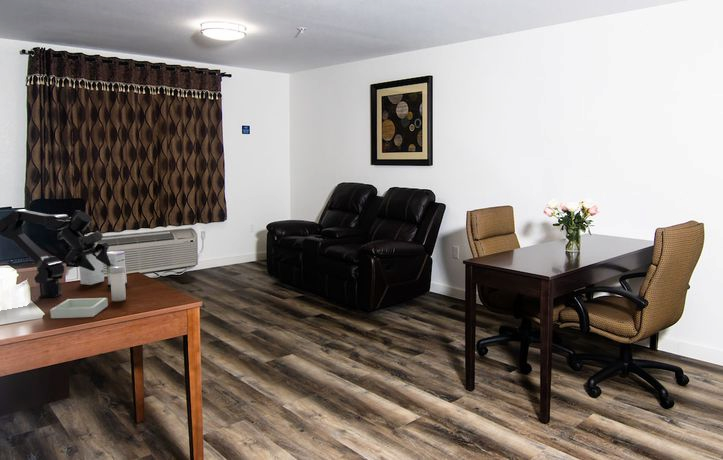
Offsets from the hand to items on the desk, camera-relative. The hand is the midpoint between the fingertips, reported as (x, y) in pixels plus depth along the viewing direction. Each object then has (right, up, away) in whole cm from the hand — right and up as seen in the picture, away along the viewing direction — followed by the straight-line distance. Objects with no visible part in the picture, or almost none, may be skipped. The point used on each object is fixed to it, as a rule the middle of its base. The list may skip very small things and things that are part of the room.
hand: (102, 267), depth 205 cm
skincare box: (-19, -9, +30) cm, 36 cm away
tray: (0, -15, -16) cm, 22 cm away
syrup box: (-7, -9, +27) cm, 29 cm away
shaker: (+6, -12, 0) cm, 14 cm away
